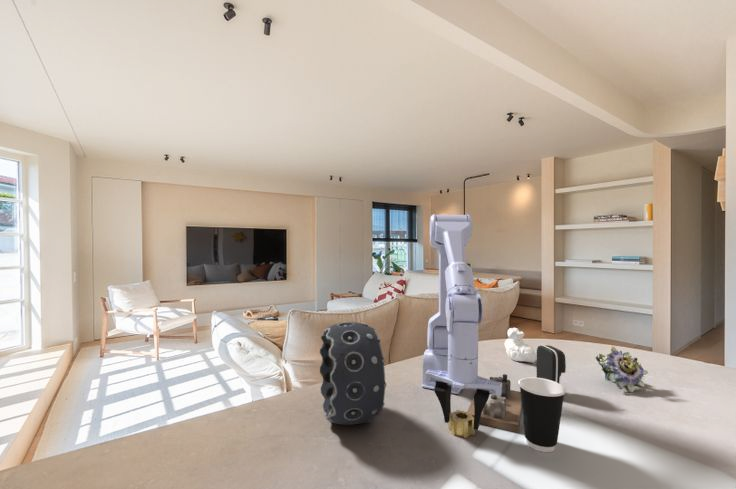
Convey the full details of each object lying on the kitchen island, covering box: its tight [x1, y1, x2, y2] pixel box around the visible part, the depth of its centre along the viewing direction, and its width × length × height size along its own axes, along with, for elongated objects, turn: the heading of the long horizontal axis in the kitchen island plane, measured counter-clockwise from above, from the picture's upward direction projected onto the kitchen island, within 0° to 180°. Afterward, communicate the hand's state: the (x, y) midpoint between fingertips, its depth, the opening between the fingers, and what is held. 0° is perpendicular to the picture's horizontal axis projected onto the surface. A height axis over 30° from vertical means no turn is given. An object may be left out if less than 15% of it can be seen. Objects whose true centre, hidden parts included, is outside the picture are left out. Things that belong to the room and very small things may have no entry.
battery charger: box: [535, 344, 567, 384], centre depth 88 cm, size 7×4×11 cm, turn 8°
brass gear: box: [448, 409, 476, 439], centre depth 70 cm, size 5×5×3 cm
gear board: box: [466, 373, 522, 434], centre depth 79 cm, size 10×17×6 cm, turn 154°
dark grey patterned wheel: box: [319, 321, 387, 426], centre depth 74 cm, size 11×20×20 cm, turn 15°
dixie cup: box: [517, 376, 567, 453], centre depth 66 cm, size 8×8×11 cm
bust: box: [503, 327, 537, 364], centre depth 112 cm, size 12×8×11 cm
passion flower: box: [595, 345, 649, 394], centre depth 93 cm, size 11×11×12 cm
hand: (461, 423), depth 70 cm, fingers closed on brass gear, 5 cm apart
